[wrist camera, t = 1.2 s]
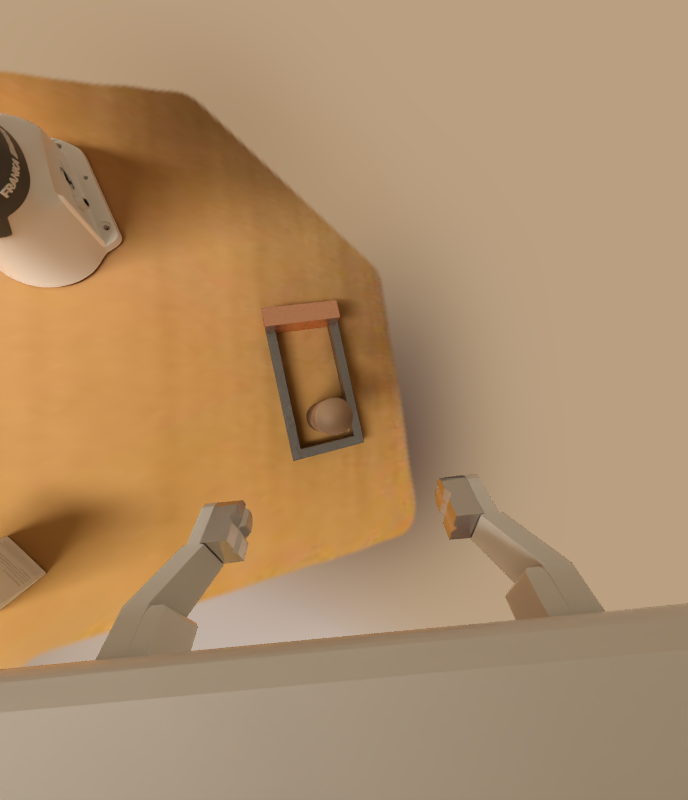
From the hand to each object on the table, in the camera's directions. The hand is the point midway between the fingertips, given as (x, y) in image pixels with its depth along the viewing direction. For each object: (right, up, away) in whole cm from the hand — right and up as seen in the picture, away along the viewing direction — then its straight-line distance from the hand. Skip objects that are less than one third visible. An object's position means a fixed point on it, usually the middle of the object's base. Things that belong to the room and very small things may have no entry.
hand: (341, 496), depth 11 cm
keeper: (-4, +1, +35) cm, 35 cm away
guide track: (-5, +7, +35) cm, 36 cm away
